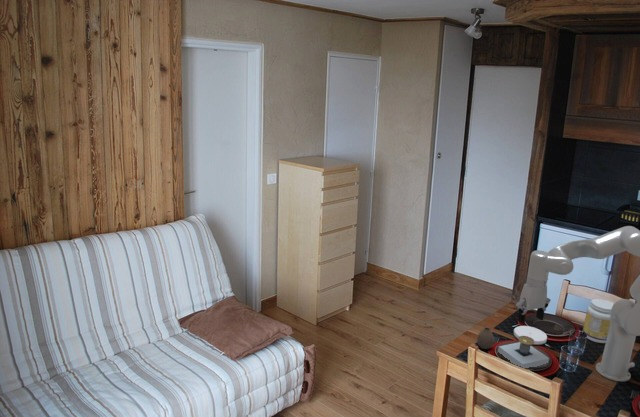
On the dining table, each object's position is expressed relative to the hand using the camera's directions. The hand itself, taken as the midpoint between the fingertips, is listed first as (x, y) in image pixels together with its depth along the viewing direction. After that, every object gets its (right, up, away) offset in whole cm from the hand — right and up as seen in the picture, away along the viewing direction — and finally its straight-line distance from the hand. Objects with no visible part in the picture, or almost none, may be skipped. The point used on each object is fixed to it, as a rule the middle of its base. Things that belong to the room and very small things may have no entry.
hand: (530, 320), depth 218 cm
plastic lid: (+9, -13, +25) cm, 30 cm away
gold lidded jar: (-1, -17, +5) cm, 18 cm away
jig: (-1, -18, +5) cm, 19 cm away
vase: (-14, -15, +14) cm, 25 cm away
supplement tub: (+42, -14, +29) cm, 53 cm away
